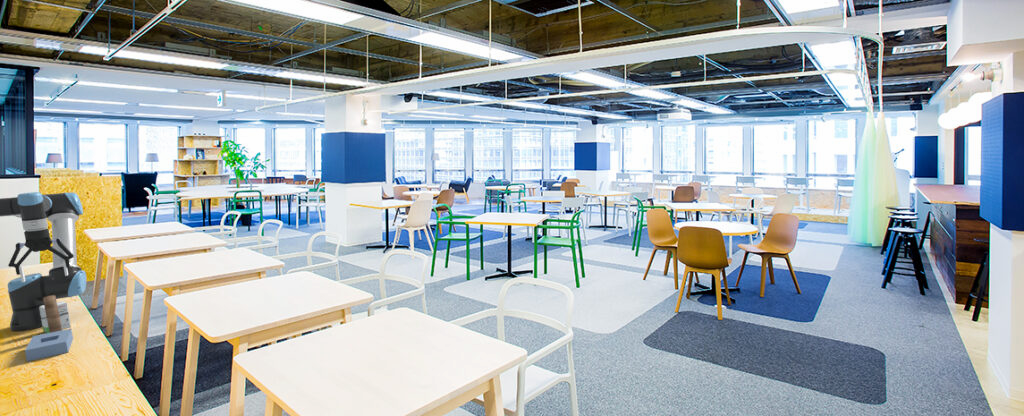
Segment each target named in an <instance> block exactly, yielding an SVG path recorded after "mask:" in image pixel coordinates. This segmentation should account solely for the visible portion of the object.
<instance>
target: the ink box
mask: <svg viewBox="0 0 1024 416" xmlns="http://www.w3.org/2000/svg"><path fill="white" fill-rule="evenodd" d="M57 306H58V311H59V317H60V322H61V327H62V330H66V329H70V328H71V327H72V324H71V319H70V314H69V308H68V303H67V302H66V301H63V300H62V301H58V302H57ZM39 309H40V315H41V321H42V331H43V332H44V334H47V333H50V332H49V327H48V322H47V317H46V312H45V307H44V305H43V306H41V307H39Z"/></svg>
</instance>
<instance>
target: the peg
mask: <svg viewBox="0 0 1024 416" xmlns="http://www.w3.org/2000/svg"><path fill="white" fill-rule="evenodd" d="M43 301H44V307H45V312H46V317H47V322H48V327H49V332H50V333H52V332H57V331H62V330H63V329H62V327H61V322H60V317H59V311H58V306H57V299H56V296H55V295H52V296H47V297H44V298H43Z"/></svg>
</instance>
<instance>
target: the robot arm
mask: <svg viewBox="0 0 1024 416" xmlns="http://www.w3.org/2000/svg"><path fill="white" fill-rule="evenodd" d="M82 205H83V204H82V202H81V200H80V198H79V195H78V194H77V193H75V192H61V193H58V192H57V193H49V194H46V193H45V194H42V193H41V192H39V191H35V192H33V191H31V192H24V193H18V194H17V197H16V196H15V197H4V198H3V197H2V198H0V217H16V218H19V219H21V224H22V229H23V231H24V232H23V233H24V238H25V242H22V243H21V242H17V243H16V244H15V250H14V252H13V254H12V257H11V259H10V260H9V263H8V265H7V266H8V267H9V268H14V269H15V273H16V275H17V276H18V277H17V278H14V279H11V280H10V281H9V282H8V283H7V293H8V296H9V300H10V305H11V310H12V314H11V319H10V322H9V328H10V331H12V332H22V331H23V332H24V331H28V330H34V329H38V328H41V327H42V328H43V326H42V321H41V315H40V309H39V307H41V306H43V305H44V301H43V298H44V297H47V296H52V295H55V296H56V300H60V299H66V298H72V297H76V296H77V297H78V296H81V295H83V294H84V292H86V289H87V288H86V287H87V273H86V271H85V270H82V268H81V267H80V266H78V261H77V260H78V259H77V258H78V257H77V256H78V255H77V240H76V239H77V237H76V235H77V234H76V222H77V221H78V220H79V217H80V216H81V215H83V213H84V210H83V209H84V208H83V206H82ZM48 222H50V223H51V234H52V235H51V236H50V230H49V228H48V227H49V224H48ZM51 237H52V238H51ZM51 245H52V246H51ZM24 247H26V248H28V249H27V251H26V252H25V253H24V254H23V256H22V257H20V259H19V260H18V261H17V262H16V260H17V258H18V256H19V253H20V251H21V250H22V249H23V248H24ZM47 250H48V251H49V252H50V253H52V267H51V268H50V269H49V270H48V275H43V274H42V273H40V272H37V273H31V274H30V273H29V274H26V275H25V272H24V266H23V265H22V264H23V262H24V261H25V260H26V259H27V257H29V255H30V254H31V253H32V252H34V253H37V252H45V251H47ZM19 276H20V277H19Z"/></svg>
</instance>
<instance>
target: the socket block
mask: <svg viewBox="0 0 1024 416" xmlns="http://www.w3.org/2000/svg"><path fill="white" fill-rule="evenodd" d="M73 336H74V335H73V332H72V328H66V329H62V331H57V332H52V333H42V334H38V335H33V336H31V339H30V340H29V342H28V344H27V346H26V347H25V350H24V353H25V358H26V362H31V361H35V360H41V359H44V358H49V357H53V356H59V355H62V354H67V353H69V351H70V348H71V346H72V343H73V341H74V337H73ZM40 358H41V359H40Z"/></svg>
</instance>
